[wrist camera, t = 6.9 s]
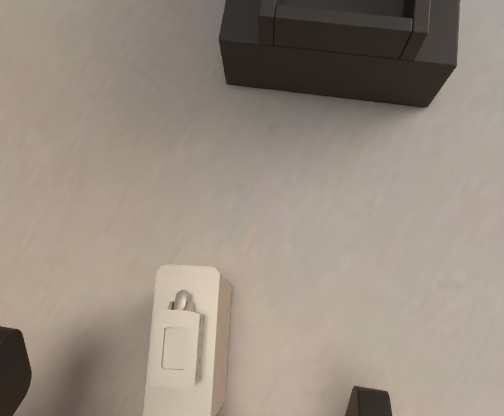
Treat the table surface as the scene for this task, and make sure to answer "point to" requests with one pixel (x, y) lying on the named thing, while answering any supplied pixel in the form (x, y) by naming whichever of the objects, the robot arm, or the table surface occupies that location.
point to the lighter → (188, 342)
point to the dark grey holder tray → (342, 47)
